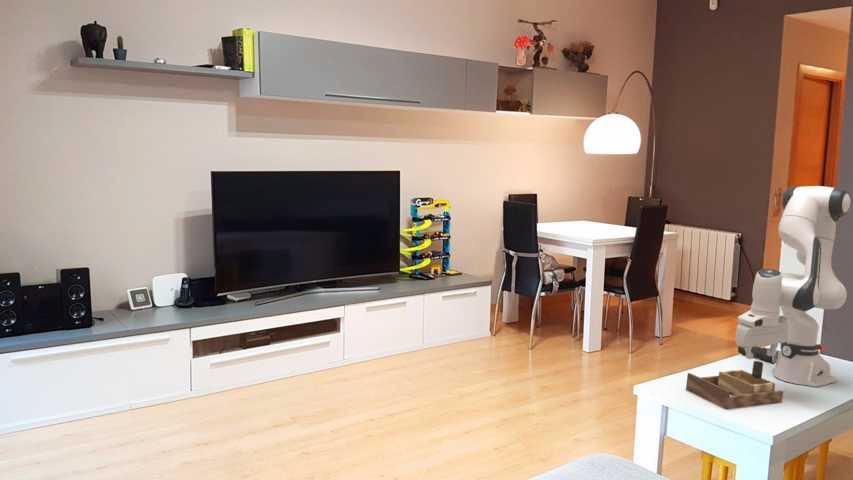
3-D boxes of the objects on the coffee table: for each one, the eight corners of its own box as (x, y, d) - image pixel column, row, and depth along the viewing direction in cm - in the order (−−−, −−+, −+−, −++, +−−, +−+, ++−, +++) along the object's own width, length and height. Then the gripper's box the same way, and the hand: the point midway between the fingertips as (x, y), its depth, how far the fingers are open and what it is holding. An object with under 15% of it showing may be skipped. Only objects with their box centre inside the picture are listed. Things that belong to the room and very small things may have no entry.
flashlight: (735, 354, 291) (737, 341, 290) (742, 352, 294) (744, 339, 293) (772, 364, 279) (774, 351, 278) (779, 362, 282) (781, 349, 281)
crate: (741, 385, 247) (745, 355, 246) (775, 400, 234) (779, 368, 233) (717, 388, 243) (720, 357, 242) (750, 403, 230) (754, 371, 228)
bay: (739, 387, 250) (741, 368, 249) (781, 405, 233) (783, 385, 232) (685, 392, 241) (687, 373, 240) (725, 412, 224) (727, 391, 223)
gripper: (779, 312, 243) (775, 350, 245) (734, 317, 236) (729, 356, 238) (795, 317, 237) (790, 356, 240) (748, 322, 230) (744, 363, 232)
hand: (759, 356), depth 239 cm, fingers open, 8 cm apart
